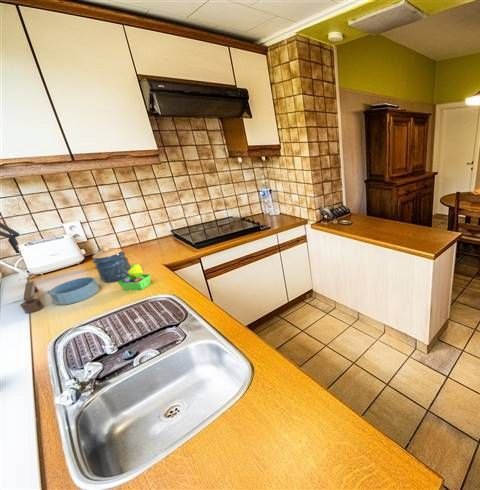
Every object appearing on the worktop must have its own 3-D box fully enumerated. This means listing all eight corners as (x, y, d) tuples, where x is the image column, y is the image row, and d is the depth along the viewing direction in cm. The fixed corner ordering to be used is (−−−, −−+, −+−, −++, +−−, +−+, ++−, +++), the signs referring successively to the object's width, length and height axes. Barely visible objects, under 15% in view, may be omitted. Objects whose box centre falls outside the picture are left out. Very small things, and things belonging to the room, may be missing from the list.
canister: (129, 268, 152) (116, 240, 145) (137, 274, 145) (123, 244, 138) (99, 278, 142) (83, 249, 135) (106, 285, 135) (90, 254, 128)
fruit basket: (120, 291, 129) (110, 271, 124) (135, 282, 137) (126, 262, 132) (142, 291, 128) (133, 271, 124) (156, 281, 136) (148, 262, 132)
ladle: (28, 295, 130) (20, 284, 127) (44, 290, 134) (37, 279, 131) (25, 315, 115) (16, 303, 112) (44, 308, 119) (36, 297, 116)
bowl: (55, 297, 127) (48, 287, 124) (98, 284, 137) (92, 274, 135) (55, 309, 117) (48, 298, 115) (101, 294, 128) (95, 283, 125)
